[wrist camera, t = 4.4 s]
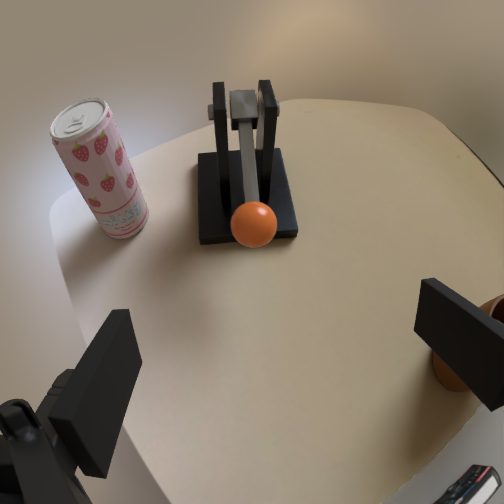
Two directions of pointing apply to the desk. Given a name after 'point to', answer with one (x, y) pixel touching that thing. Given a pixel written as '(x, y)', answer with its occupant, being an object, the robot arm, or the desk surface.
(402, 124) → the desk surface
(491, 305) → the mug
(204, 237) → the switch bracket
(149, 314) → the desk surface
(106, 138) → the beverage can
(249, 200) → the switch lever
